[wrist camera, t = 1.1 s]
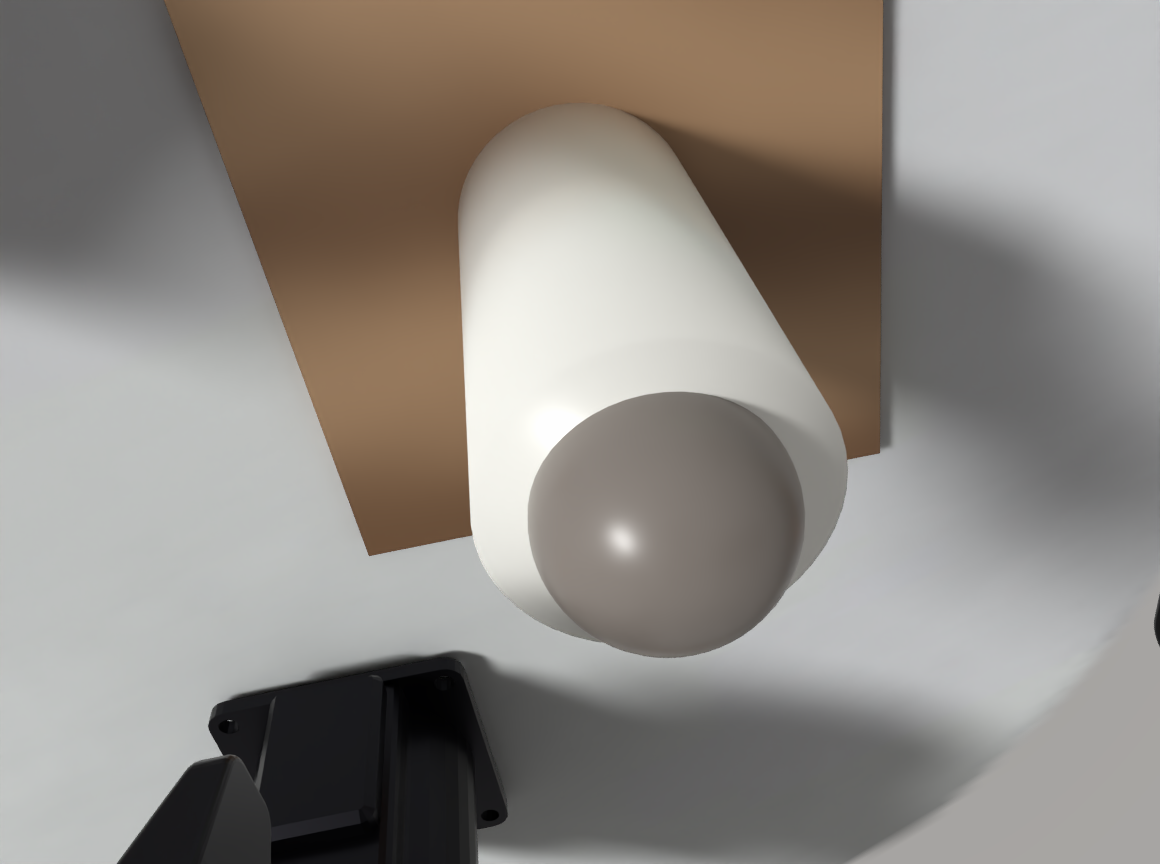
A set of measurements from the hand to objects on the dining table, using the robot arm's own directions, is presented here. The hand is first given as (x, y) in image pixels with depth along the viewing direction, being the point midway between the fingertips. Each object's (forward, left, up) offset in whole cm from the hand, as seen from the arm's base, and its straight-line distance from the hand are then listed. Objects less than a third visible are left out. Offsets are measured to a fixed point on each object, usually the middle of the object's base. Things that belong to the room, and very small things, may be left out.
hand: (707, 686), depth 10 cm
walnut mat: (0, 0, -12) cm, 12 cm away
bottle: (0, 0, -12) cm, 12 cm away
